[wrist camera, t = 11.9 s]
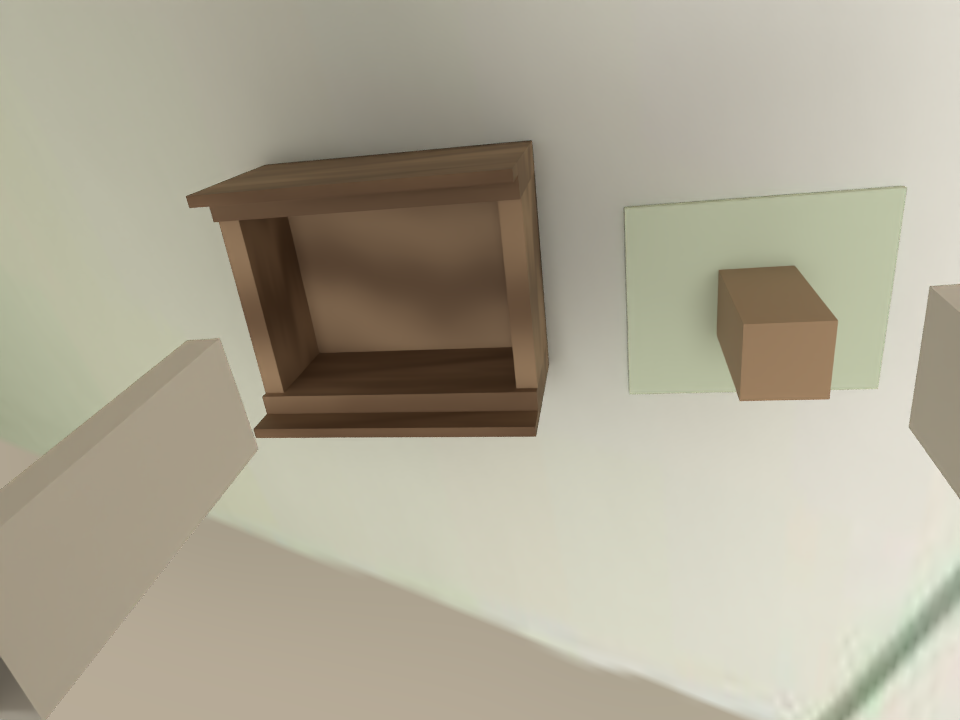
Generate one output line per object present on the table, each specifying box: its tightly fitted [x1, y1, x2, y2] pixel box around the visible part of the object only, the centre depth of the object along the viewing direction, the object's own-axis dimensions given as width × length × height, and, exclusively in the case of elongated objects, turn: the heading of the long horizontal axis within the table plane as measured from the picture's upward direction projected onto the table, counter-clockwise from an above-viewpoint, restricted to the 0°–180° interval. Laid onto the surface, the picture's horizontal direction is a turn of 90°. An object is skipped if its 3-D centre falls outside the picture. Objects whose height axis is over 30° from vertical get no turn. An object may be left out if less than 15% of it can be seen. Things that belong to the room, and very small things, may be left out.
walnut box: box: [186, 140, 549, 438], centre depth 33 cm, size 12×14×8 cm
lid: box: [624, 186, 907, 401], centre depth 31 cm, size 10×12×8 cm
